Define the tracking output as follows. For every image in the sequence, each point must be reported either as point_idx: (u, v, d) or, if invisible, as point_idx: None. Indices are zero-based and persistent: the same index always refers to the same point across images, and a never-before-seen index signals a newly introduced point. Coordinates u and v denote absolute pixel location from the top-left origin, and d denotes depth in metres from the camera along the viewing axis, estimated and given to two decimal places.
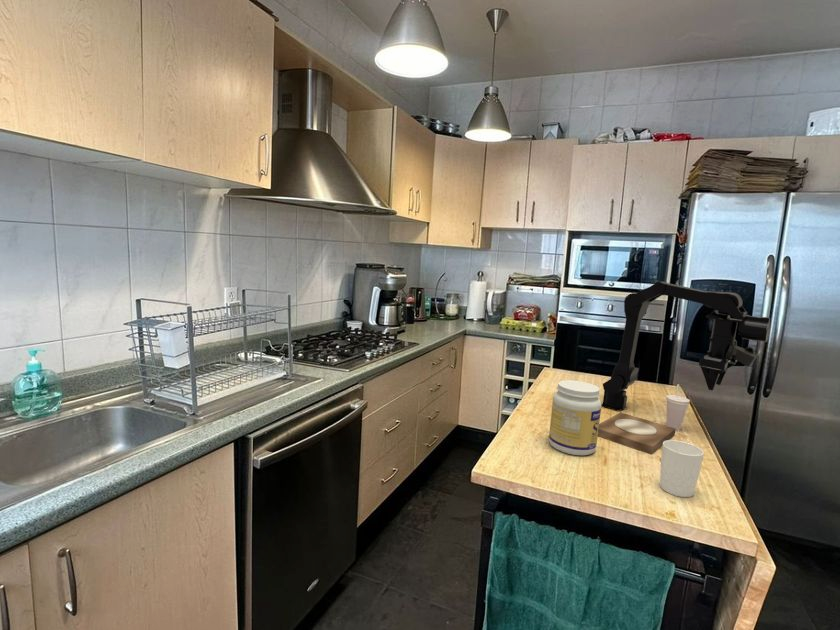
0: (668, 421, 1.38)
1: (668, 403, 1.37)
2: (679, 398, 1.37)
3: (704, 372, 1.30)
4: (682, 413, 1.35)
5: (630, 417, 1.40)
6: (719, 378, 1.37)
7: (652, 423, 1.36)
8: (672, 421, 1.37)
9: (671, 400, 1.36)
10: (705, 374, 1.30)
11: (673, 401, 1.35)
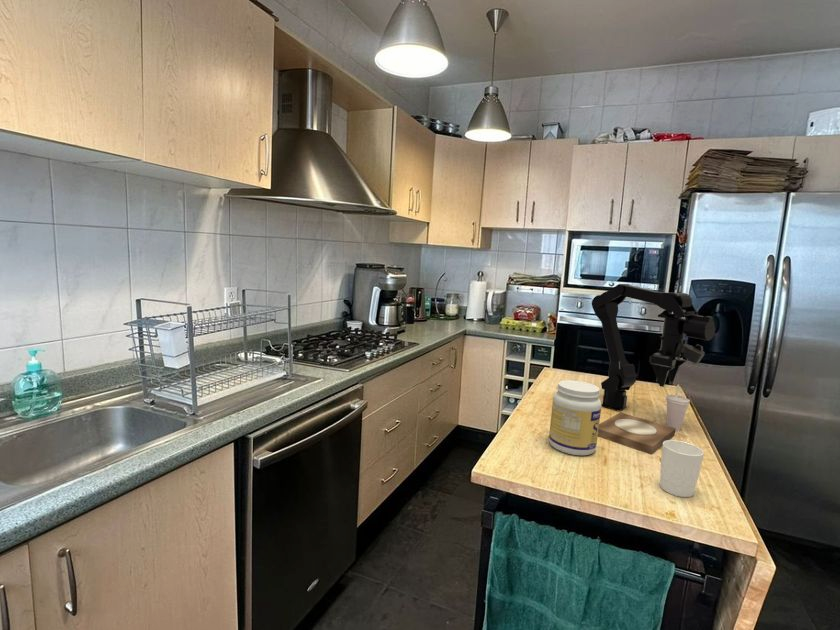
0: (668, 421, 1.38)
1: (668, 403, 1.37)
2: (679, 398, 1.37)
3: (655, 369, 1.35)
4: (682, 413, 1.35)
5: (630, 417, 1.40)
6: (672, 375, 1.42)
7: (652, 423, 1.36)
8: (672, 421, 1.37)
9: (671, 400, 1.36)
10: (656, 371, 1.35)
11: (673, 401, 1.35)
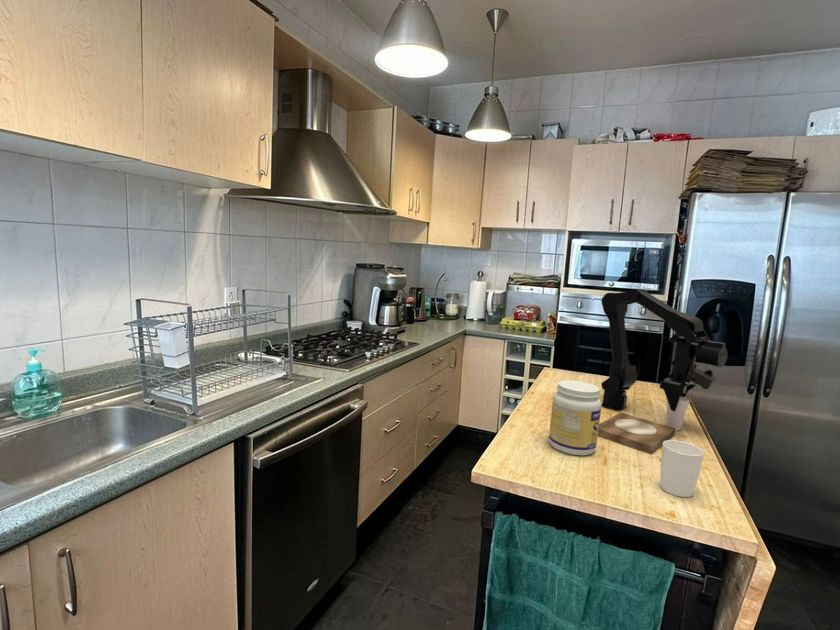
0: (668, 421, 1.38)
1: (668, 403, 1.37)
2: None
3: (666, 393, 1.35)
4: (682, 413, 1.35)
5: (630, 417, 1.40)
6: None
7: (652, 423, 1.36)
8: (672, 421, 1.37)
9: None
10: (667, 395, 1.35)
11: None
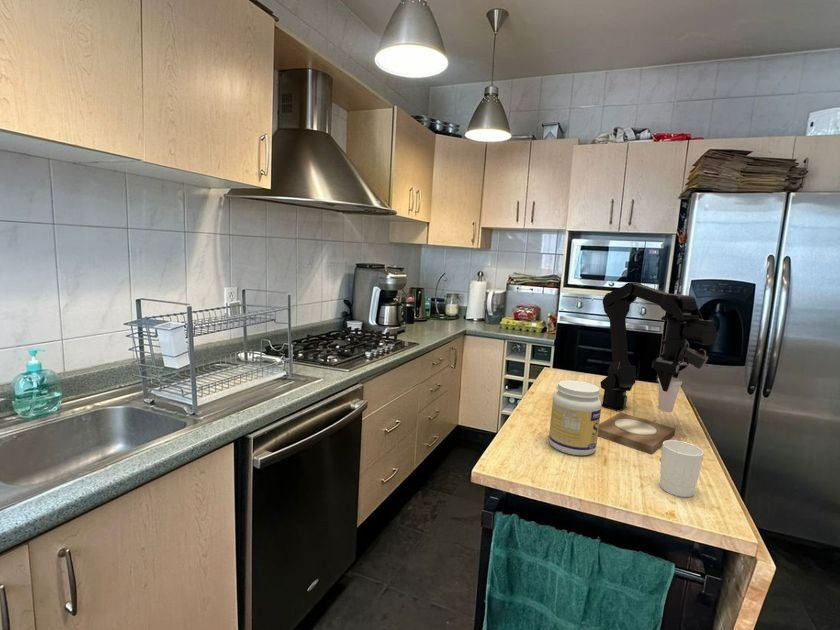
0: (660, 402, 1.35)
1: (660, 384, 1.34)
2: None
3: (658, 374, 1.31)
4: (674, 394, 1.32)
5: (630, 417, 1.40)
6: None
7: (652, 423, 1.36)
8: (664, 402, 1.34)
9: None
10: (659, 376, 1.31)
11: None
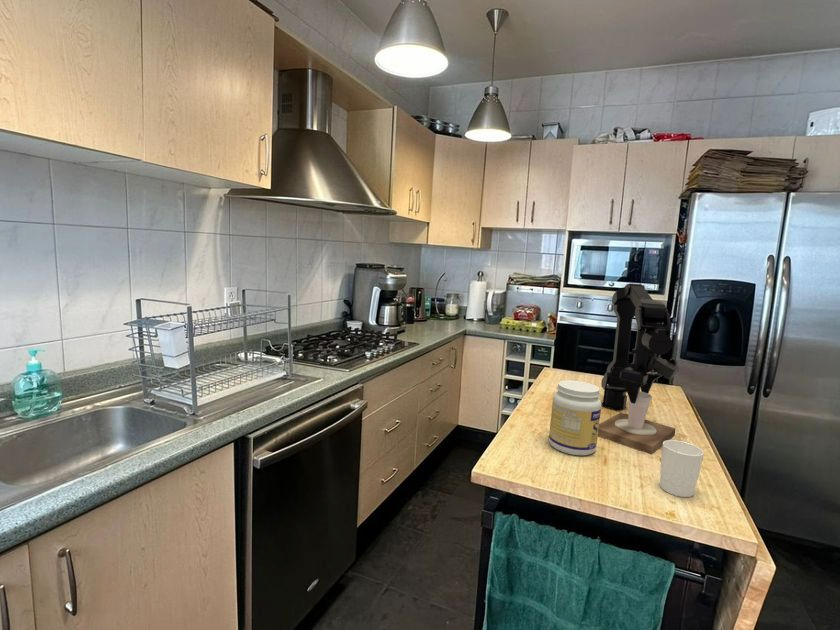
0: (630, 418, 1.30)
1: None
2: (641, 394, 1.29)
3: (626, 385, 1.26)
4: (644, 410, 1.28)
5: None
6: (645, 391, 1.33)
7: (652, 423, 1.36)
8: (633, 418, 1.29)
9: None
10: (627, 387, 1.26)
11: None
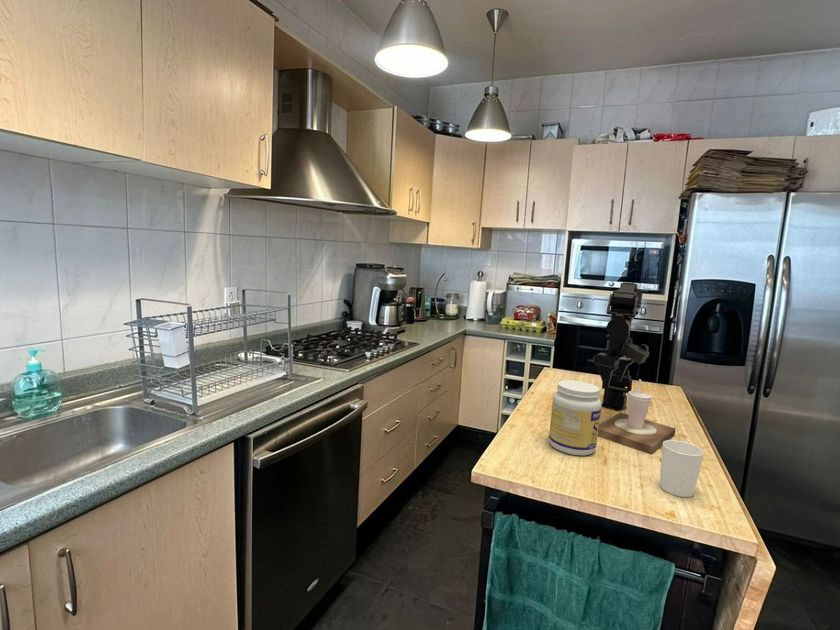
0: (630, 418, 1.30)
1: (629, 399, 1.30)
2: (641, 394, 1.29)
3: (599, 369, 1.32)
4: (643, 410, 1.28)
5: None
6: (619, 375, 1.39)
7: (652, 423, 1.36)
8: (633, 418, 1.29)
9: (632, 396, 1.28)
10: (600, 371, 1.32)
11: (634, 397, 1.28)
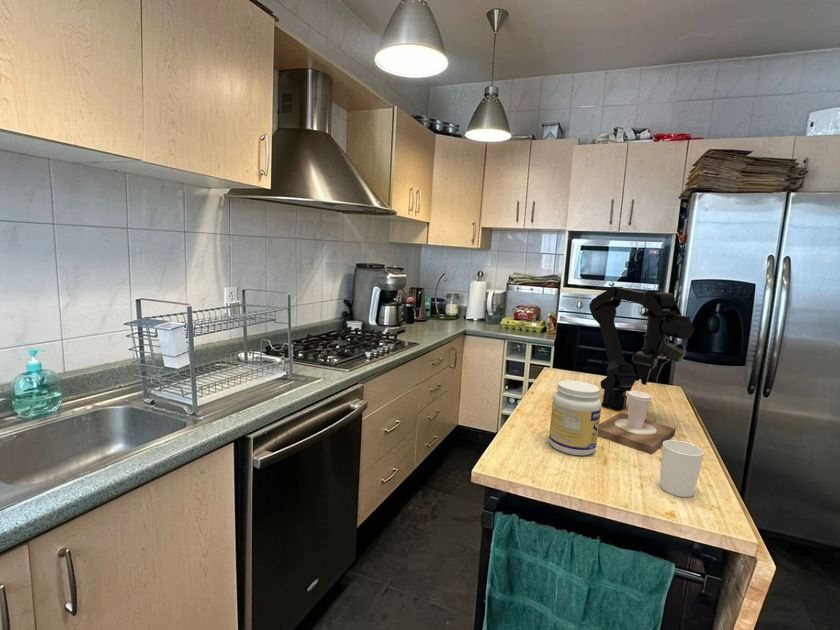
0: (630, 418, 1.30)
1: (629, 399, 1.30)
2: (641, 394, 1.29)
3: (637, 368, 1.37)
4: (643, 410, 1.28)
5: None
6: (655, 374, 1.44)
7: (652, 423, 1.36)
8: (633, 418, 1.29)
9: (632, 396, 1.28)
10: (638, 369, 1.37)
11: (634, 397, 1.28)
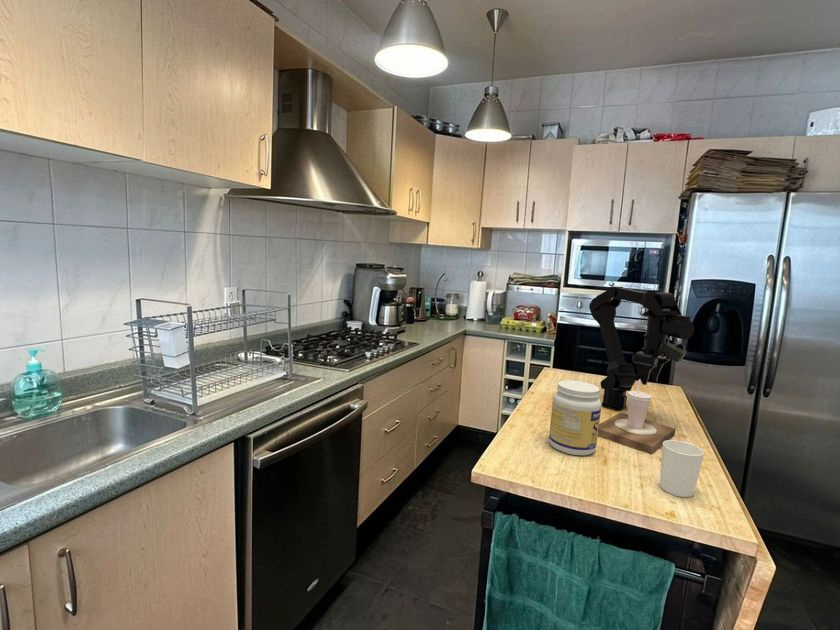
0: (630, 418, 1.30)
1: (629, 399, 1.30)
2: (641, 394, 1.29)
3: (637, 368, 1.37)
4: (643, 410, 1.28)
5: None
6: (655, 374, 1.44)
7: (652, 423, 1.36)
8: (633, 418, 1.29)
9: (632, 396, 1.28)
10: (638, 369, 1.37)
11: (634, 397, 1.28)
